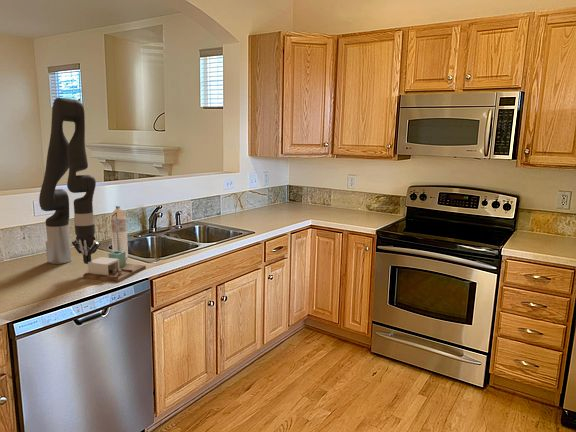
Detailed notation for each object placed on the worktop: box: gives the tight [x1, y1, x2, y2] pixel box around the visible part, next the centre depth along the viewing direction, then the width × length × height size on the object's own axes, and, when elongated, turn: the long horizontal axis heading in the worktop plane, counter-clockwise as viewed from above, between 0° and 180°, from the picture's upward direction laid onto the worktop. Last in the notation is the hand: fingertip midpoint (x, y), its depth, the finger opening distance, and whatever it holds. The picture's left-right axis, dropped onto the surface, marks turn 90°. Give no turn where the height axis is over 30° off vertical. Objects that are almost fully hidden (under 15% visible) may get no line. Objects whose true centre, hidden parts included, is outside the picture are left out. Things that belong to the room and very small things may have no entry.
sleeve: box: [107, 250, 127, 267], centre depth 193 cm, size 5×5×6 cm
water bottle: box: [110, 205, 129, 259], centre depth 208 cm, size 7×7×25 cm
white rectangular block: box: [87, 256, 120, 276], centre depth 183 cm, size 9×8×5 cm
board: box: [82, 262, 147, 283], centre depth 187 cm, size 17×19×6 cm
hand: (87, 263), depth 185 cm, fingers closed
